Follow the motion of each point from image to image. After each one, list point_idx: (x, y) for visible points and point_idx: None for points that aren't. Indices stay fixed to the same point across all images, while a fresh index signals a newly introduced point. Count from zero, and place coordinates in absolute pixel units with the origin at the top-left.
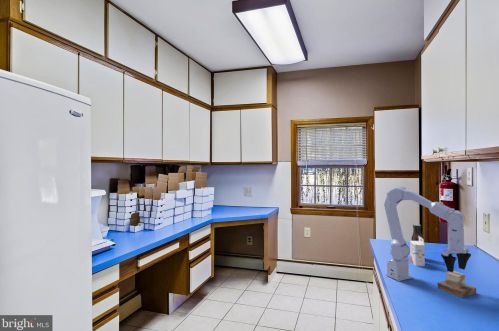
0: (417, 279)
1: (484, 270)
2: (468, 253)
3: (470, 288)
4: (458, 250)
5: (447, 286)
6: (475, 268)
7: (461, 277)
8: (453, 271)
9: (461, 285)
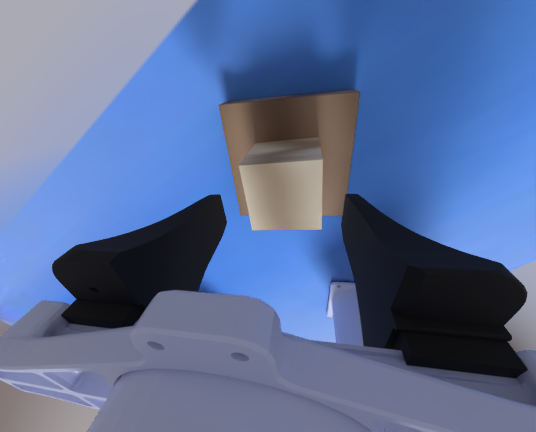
0: (326, 271)
1: (44, 232)
2: (76, 284)
3: (258, 108)
4: (328, 429)
5: (347, 172)
6: (65, 250)
7: (282, 157)
8: (262, 223)
9: (287, 142)
